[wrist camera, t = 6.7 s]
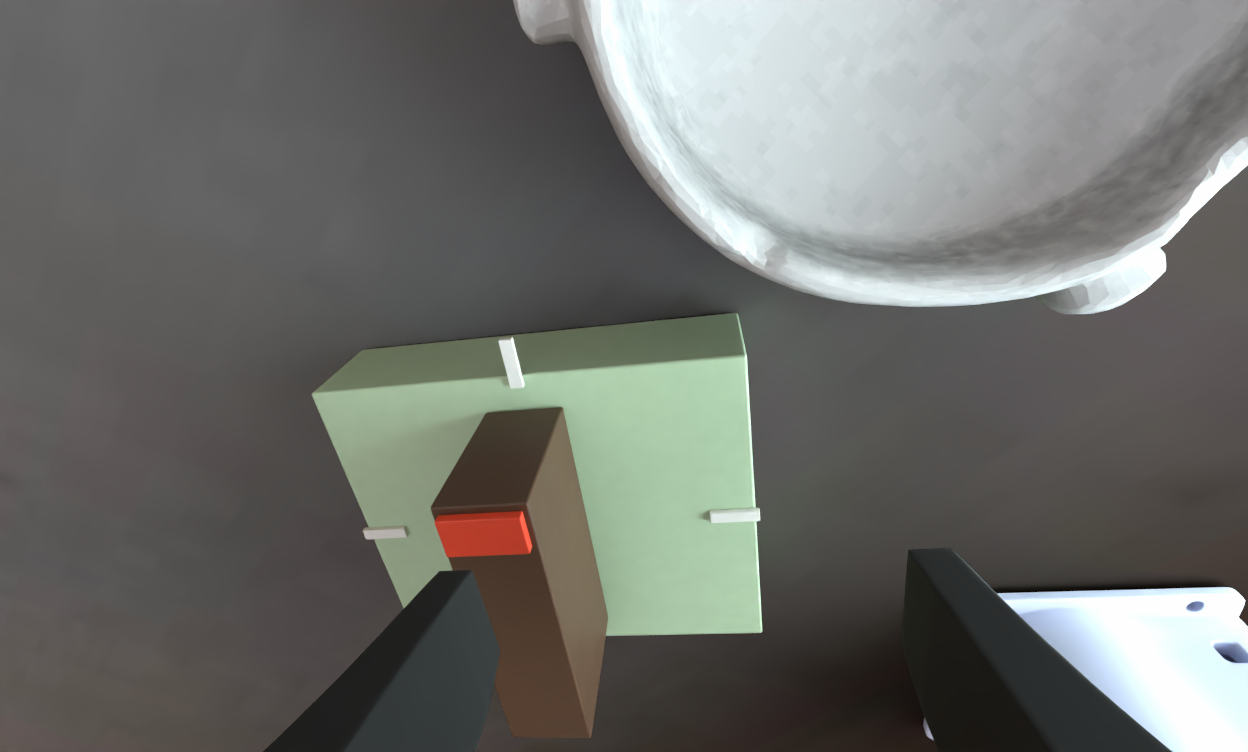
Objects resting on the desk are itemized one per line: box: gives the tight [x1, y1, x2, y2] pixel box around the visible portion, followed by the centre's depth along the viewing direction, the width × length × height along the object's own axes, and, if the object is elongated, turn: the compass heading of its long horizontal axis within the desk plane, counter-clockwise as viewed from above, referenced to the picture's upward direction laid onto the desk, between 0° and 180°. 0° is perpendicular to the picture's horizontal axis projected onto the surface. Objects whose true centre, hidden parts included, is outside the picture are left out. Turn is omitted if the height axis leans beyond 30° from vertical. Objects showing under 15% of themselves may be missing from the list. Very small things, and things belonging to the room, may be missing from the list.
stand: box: [312, 313, 762, 636], centre depth 19 cm, size 12×12×3 cm
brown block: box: [431, 407, 608, 738], centre depth 16 cm, size 8×2×4 cm, turn 8°
